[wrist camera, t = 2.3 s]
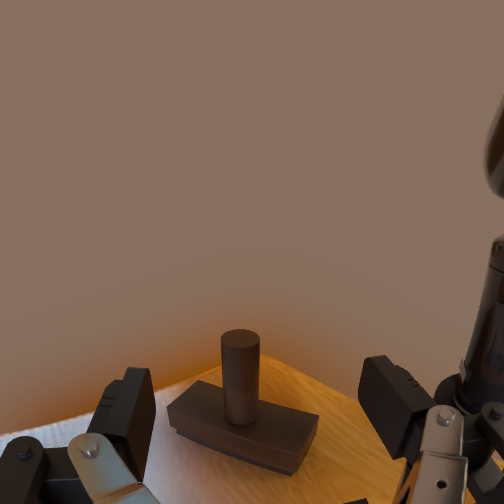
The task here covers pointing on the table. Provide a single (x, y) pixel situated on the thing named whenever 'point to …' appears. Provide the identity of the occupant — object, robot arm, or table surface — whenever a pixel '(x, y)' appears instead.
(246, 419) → the stamp
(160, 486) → the table surface
